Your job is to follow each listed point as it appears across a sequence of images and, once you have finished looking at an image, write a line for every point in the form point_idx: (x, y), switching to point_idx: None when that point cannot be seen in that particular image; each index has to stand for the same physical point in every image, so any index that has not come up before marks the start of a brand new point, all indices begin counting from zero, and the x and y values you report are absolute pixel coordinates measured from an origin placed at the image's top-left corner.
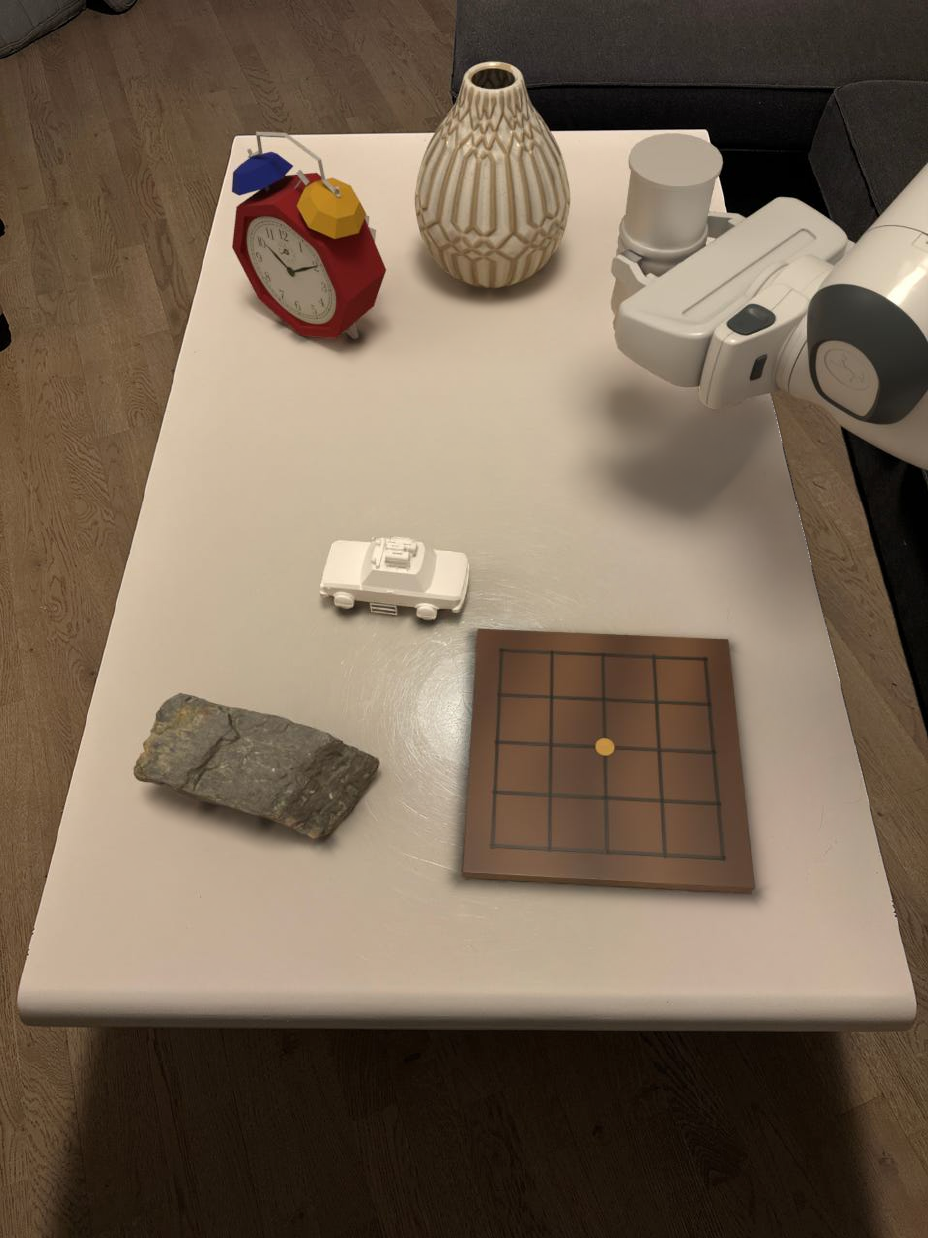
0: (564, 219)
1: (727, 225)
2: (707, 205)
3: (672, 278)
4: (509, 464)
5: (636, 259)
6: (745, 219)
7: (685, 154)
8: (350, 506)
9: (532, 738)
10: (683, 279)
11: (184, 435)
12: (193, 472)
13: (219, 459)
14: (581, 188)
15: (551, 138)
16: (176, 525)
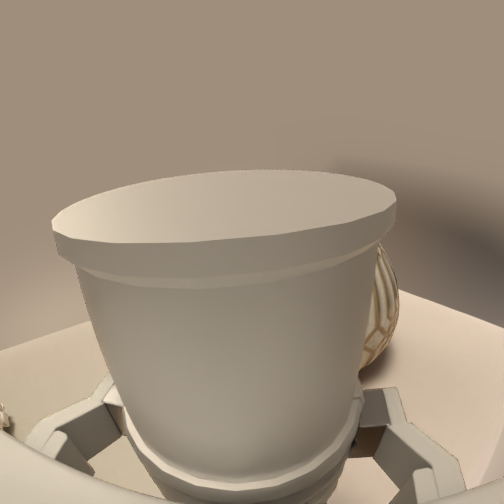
0: (369, 343)
1: (407, 480)
2: (236, 404)
3: (16, 470)
4: (124, 485)
5: (112, 400)
6: (443, 501)
7: (266, 187)
8: (49, 408)
9: None
10: (17, 495)
11: (81, 327)
12: (58, 340)
13: (69, 344)
14: (436, 336)
15: (380, 268)
16: (26, 349)
